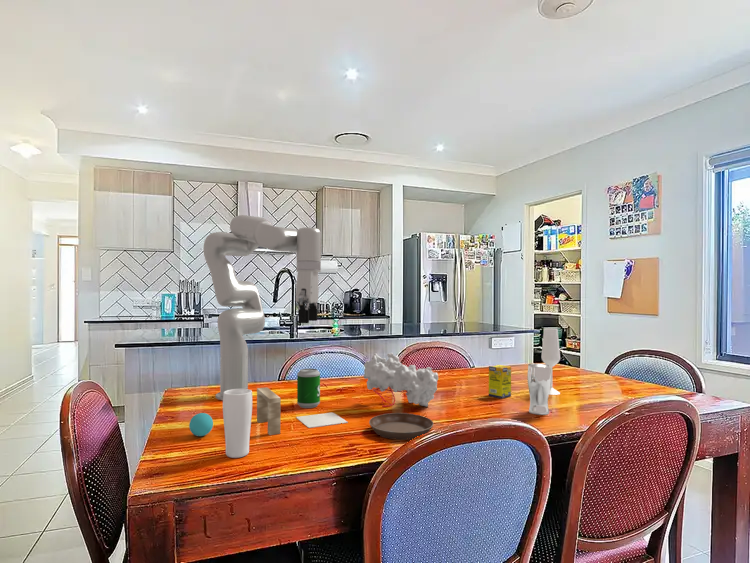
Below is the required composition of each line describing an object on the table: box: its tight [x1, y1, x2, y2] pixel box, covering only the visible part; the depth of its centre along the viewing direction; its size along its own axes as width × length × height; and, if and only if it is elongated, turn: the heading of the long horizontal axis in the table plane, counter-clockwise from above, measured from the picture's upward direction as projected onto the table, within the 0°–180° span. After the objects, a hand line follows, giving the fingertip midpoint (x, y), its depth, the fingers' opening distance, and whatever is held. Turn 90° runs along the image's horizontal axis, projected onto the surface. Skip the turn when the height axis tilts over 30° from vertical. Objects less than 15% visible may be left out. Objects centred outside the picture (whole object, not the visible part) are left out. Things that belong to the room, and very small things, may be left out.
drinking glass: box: [222, 389, 253, 459], centre depth 115 cm, size 7×7×15 cm
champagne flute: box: [541, 327, 561, 396], centre depth 181 cm, size 7×7×24 cm
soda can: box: [296, 368, 321, 409], centre depth 161 cm, size 8×8×12 cm
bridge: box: [256, 386, 282, 436], centre depth 137 cm, size 3×15×10 cm, turn 26°
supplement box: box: [488, 364, 512, 399], centre depth 176 cm, size 6×6×11 cm
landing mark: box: [295, 412, 349, 429], centre depth 144 cm, size 12×12×1 cm
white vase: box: [527, 363, 551, 416], centre depth 153 cm, size 7×7×15 cm
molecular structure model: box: [362, 352, 439, 408], centre depth 161 cm, size 20×18×25 cm
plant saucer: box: [368, 412, 434, 441], centre depth 133 cm, size 18×18×3 cm
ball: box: [188, 412, 214, 437], centre depth 129 cm, size 6×6×6 cm
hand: (308, 321), depth 152 cm, fingers open, 9 cm apart
